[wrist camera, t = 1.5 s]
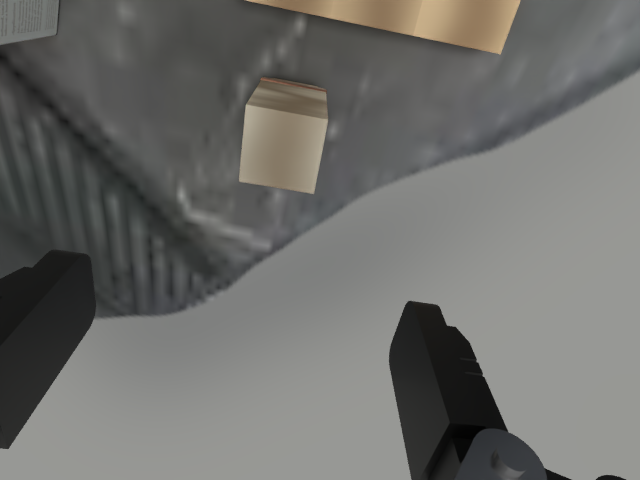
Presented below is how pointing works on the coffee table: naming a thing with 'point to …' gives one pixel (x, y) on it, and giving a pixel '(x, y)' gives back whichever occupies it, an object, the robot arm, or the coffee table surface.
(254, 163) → the ash peg
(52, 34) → the small box
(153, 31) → the coffee table surface
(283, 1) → the oak board
